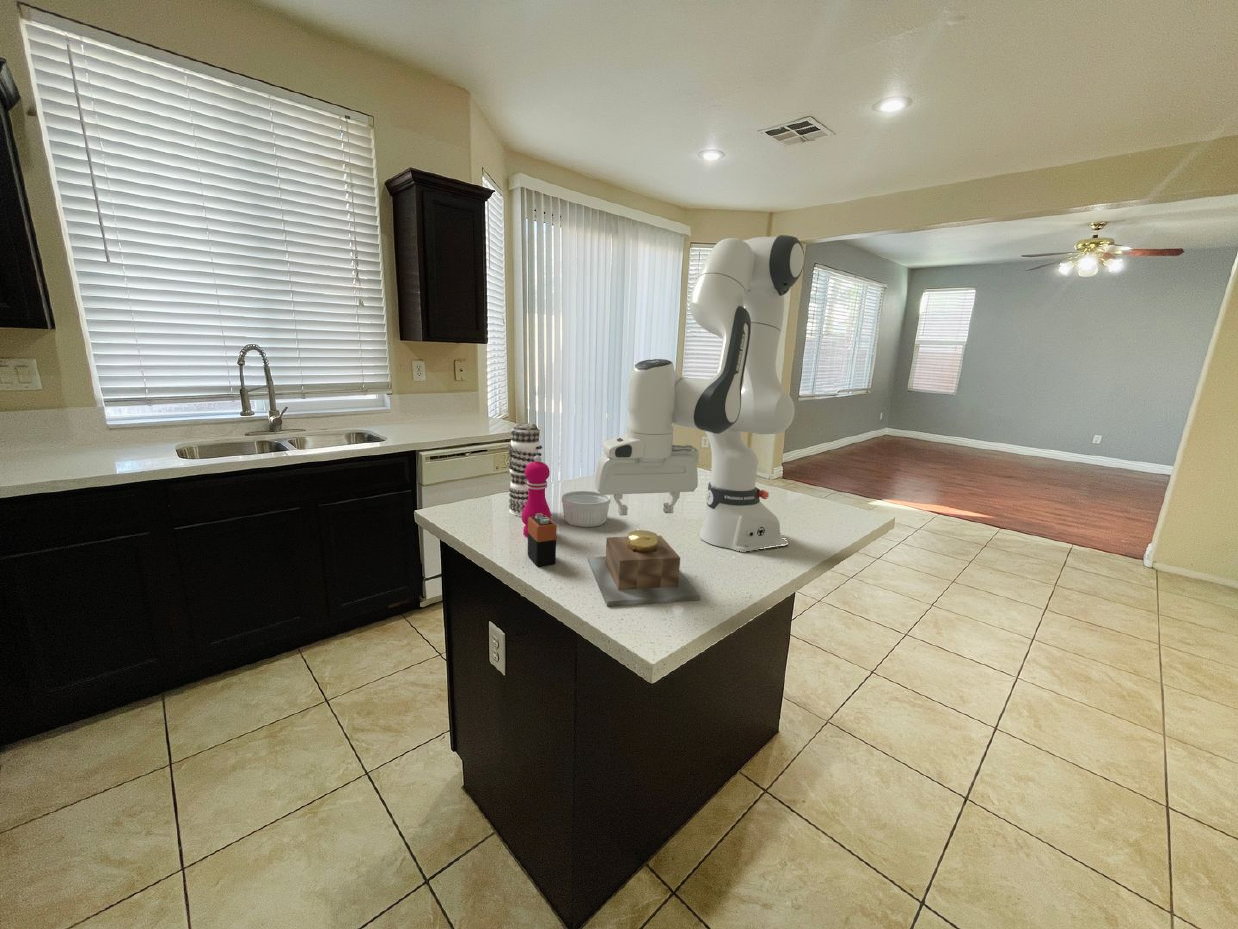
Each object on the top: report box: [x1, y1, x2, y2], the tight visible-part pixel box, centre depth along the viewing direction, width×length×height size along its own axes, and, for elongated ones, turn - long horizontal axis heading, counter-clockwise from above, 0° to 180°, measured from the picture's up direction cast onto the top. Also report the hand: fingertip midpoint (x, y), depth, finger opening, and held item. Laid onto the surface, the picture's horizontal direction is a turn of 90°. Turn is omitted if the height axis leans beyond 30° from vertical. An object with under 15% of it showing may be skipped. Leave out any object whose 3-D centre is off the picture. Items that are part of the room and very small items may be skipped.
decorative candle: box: [507, 422, 543, 517], centre depth 136 cm, size 9×9×25 cm
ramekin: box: [561, 490, 611, 528], centre depth 133 cm, size 13×13×7 cm
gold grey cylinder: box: [627, 529, 659, 553], centre depth 98 cm, size 6×6×8 cm
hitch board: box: [587, 535, 701, 607], centre depth 99 cm, size 18×20×7 cm
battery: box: [527, 514, 558, 567], centre depth 105 cm, size 4×7×10 cm, turn 28°
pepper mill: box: [521, 455, 552, 538], centre depth 120 cm, size 7×7×20 cm
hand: (645, 513), depth 97 cm, fingers open, 8 cm apart
